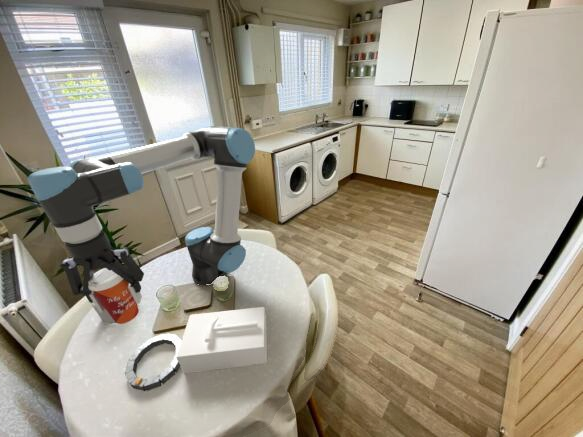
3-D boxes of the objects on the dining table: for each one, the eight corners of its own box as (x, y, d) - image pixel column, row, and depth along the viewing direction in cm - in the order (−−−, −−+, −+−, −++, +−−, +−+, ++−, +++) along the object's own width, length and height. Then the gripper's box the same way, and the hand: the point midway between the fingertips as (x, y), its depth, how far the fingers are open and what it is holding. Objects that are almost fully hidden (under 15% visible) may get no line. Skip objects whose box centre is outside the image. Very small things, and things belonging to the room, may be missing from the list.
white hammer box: (196, 331, 85) (188, 310, 80) (266, 323, 87) (263, 302, 81) (184, 373, 73) (173, 352, 67) (266, 363, 74) (263, 341, 69)
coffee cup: (126, 330, 64) (103, 289, 57) (102, 324, 66) (77, 283, 59) (150, 305, 71) (132, 266, 64) (127, 301, 73) (107, 262, 66)
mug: (110, 329, 87) (98, 310, 82) (97, 317, 92) (85, 298, 87) (146, 303, 97) (137, 285, 92) (132, 293, 102) (123, 275, 97)
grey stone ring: (185, 332, 84) (183, 326, 83) (183, 377, 71) (180, 372, 70) (134, 348, 80) (131, 342, 79) (122, 399, 67) (118, 394, 65)
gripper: (138, 219, 61) (164, 285, 72) (39, 235, 56) (83, 304, 67) (130, 234, 55) (160, 304, 66) (17, 254, 50) (70, 326, 61)
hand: (121, 304), depth 66 cm, fingers closed on coffee cup, 8 cm apart
